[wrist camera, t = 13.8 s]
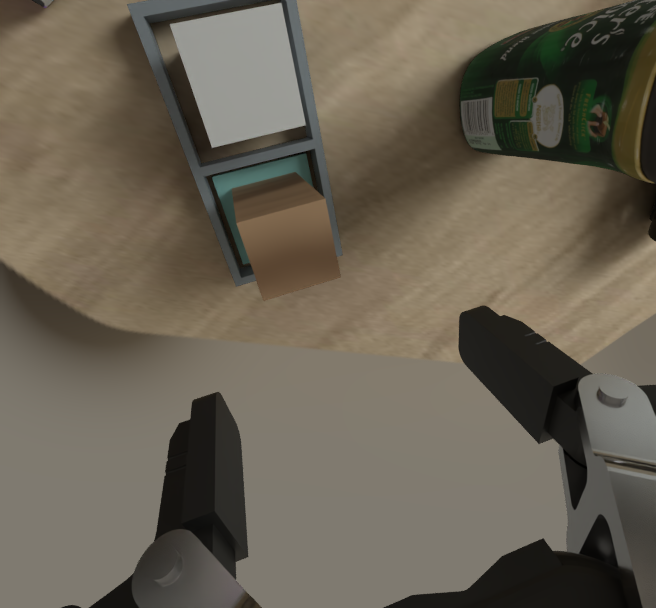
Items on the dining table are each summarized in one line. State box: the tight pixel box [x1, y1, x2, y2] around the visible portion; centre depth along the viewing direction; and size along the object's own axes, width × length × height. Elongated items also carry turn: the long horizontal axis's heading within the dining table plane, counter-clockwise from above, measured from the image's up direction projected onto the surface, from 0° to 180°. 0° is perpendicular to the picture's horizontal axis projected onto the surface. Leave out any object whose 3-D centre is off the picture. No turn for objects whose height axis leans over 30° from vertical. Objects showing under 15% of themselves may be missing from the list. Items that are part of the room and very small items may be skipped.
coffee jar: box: [460, 0, 656, 183], centre depth 20 cm, size 10×8×19 cm
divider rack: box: [127, 0, 343, 286], centre depth 22 cm, size 18×9×8 cm, turn 11°
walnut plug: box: [232, 172, 341, 301], centre depth 24 cm, size 5×5×9 cm
